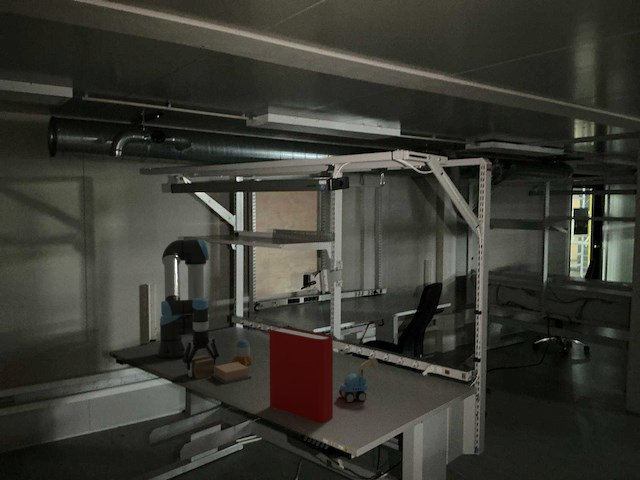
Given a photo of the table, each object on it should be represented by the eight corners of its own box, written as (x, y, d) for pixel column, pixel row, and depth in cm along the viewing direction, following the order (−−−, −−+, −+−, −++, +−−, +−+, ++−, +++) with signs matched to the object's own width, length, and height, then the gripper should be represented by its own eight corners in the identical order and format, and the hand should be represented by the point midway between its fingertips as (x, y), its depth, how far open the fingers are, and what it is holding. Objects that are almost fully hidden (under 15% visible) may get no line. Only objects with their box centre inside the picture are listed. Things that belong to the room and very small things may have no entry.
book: (269, 406, 208) (269, 329, 206) (283, 400, 214) (282, 326, 212) (321, 423, 190) (321, 339, 189) (334, 417, 197) (334, 335, 195)
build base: (212, 376, 246) (211, 366, 246) (237, 370, 255) (237, 361, 254) (225, 384, 235) (224, 373, 235) (251, 378, 243) (251, 367, 243)
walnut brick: (188, 373, 250) (188, 358, 250) (205, 370, 256) (205, 354, 255) (196, 379, 242) (196, 362, 242) (214, 375, 248) (213, 359, 248)
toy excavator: (381, 399, 215) (381, 359, 214) (344, 403, 210) (344, 363, 210) (373, 392, 223) (373, 354, 223) (337, 396, 219) (337, 357, 218)
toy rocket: (250, 371, 256) (243, 344, 254) (230, 374, 259) (223, 346, 256) (256, 362, 266) (249, 336, 264) (237, 365, 269) (230, 338, 266)
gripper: (180, 334, 238) (181, 380, 239) (225, 327, 252) (226, 371, 253) (174, 331, 244) (175, 376, 245) (219, 325, 258) (219, 367, 259)
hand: (201, 374), depth 249 cm, fingers open, 11 cm apart
